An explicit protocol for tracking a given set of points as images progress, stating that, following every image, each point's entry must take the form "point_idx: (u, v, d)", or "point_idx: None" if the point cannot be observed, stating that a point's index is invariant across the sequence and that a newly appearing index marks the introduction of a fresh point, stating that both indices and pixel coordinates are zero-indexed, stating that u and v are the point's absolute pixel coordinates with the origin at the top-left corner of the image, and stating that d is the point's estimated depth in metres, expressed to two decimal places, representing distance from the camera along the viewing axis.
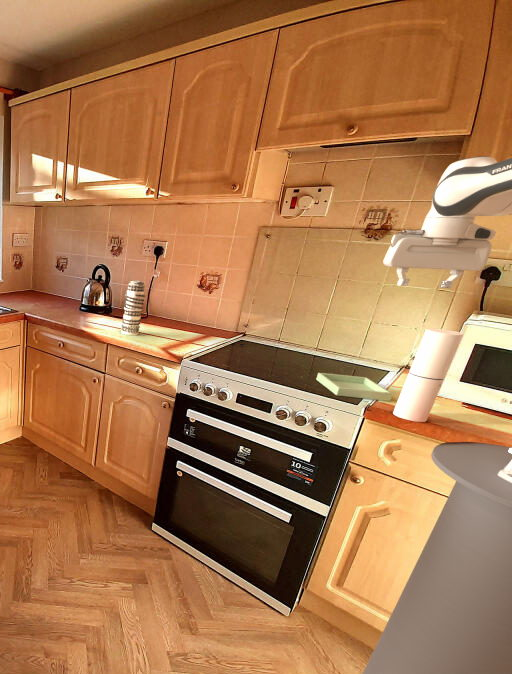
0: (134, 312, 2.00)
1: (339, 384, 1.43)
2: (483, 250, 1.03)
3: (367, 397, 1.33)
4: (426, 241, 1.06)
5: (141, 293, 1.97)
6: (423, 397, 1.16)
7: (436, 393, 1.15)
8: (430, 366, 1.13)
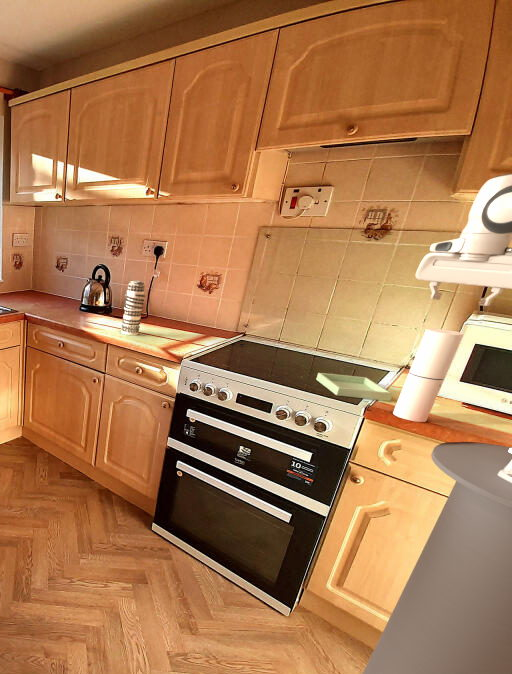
0: (134, 312, 2.00)
1: (339, 384, 1.43)
2: None
3: (367, 397, 1.33)
4: None
5: (141, 293, 1.97)
6: (423, 397, 1.16)
7: (436, 393, 1.15)
8: (430, 366, 1.13)
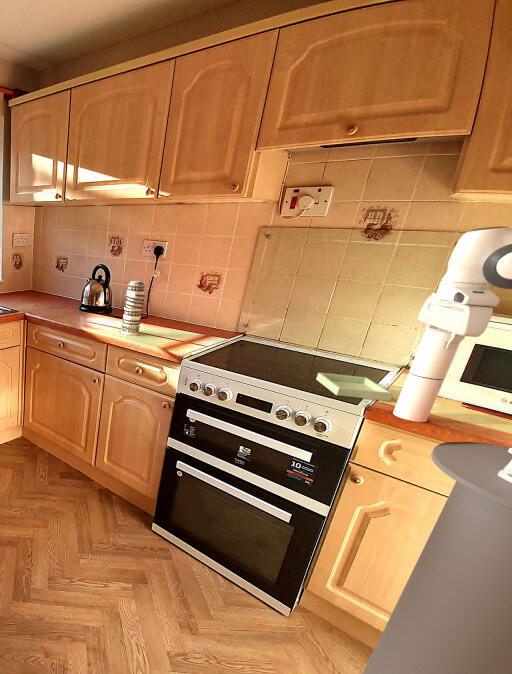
0: (134, 312, 2.00)
1: (339, 384, 1.43)
2: (464, 315, 1.03)
3: (367, 397, 1.33)
4: (438, 300, 1.14)
5: (141, 293, 1.97)
6: (423, 397, 1.16)
7: (436, 393, 1.15)
8: (430, 366, 1.13)
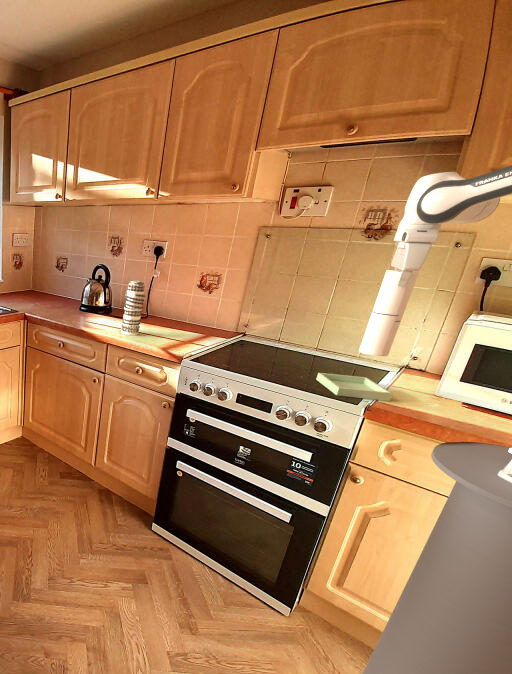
0: (134, 312, 2.00)
1: (339, 384, 1.43)
2: None
3: (367, 397, 1.33)
4: None
5: (141, 293, 1.97)
6: (379, 332, 1.28)
7: (393, 329, 1.27)
8: (385, 302, 1.26)
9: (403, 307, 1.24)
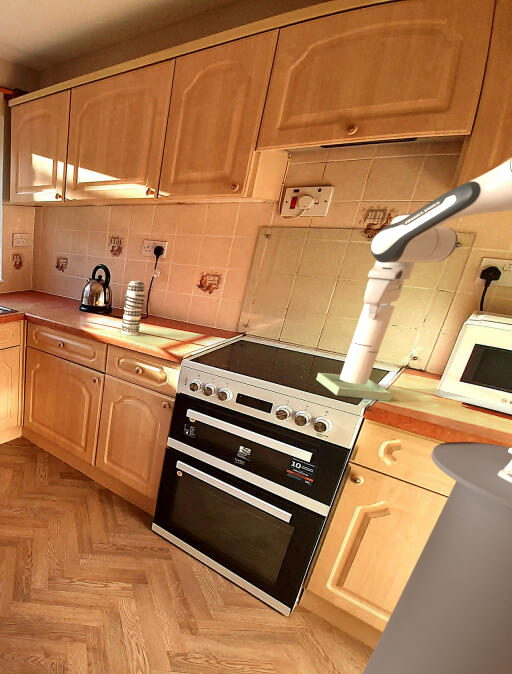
0: (134, 312, 2.00)
1: (339, 384, 1.43)
2: None
3: (367, 397, 1.33)
4: None
5: (141, 293, 1.97)
6: (353, 360, 1.35)
7: (366, 358, 1.33)
8: (359, 333, 1.33)
9: (376, 339, 1.31)
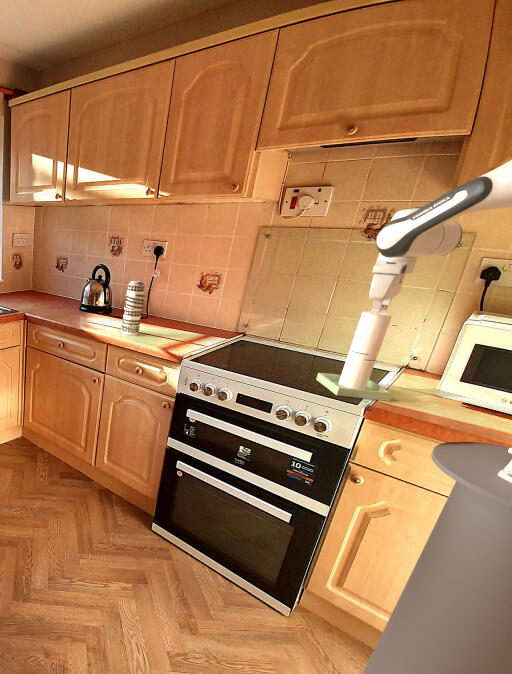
0: (134, 312, 2.00)
1: None
2: None
3: (367, 397, 1.33)
4: None
5: (141, 293, 1.97)
6: (350, 368, 1.37)
7: (363, 366, 1.34)
8: (356, 341, 1.34)
9: (373, 347, 1.32)
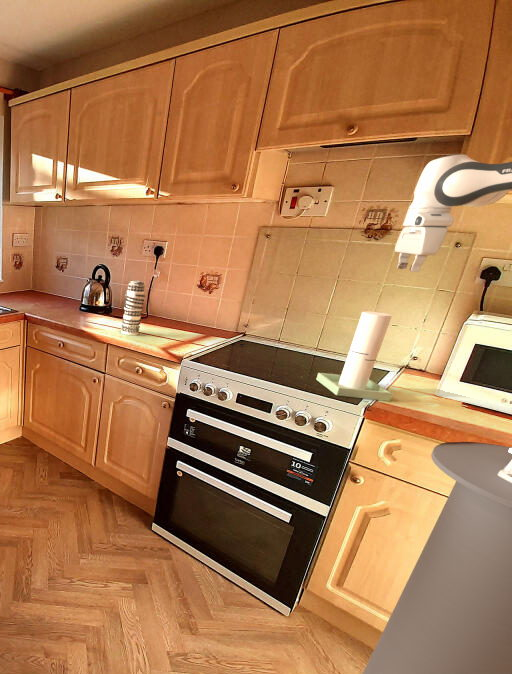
0: (134, 312, 2.00)
1: None
2: (422, 235, 1.15)
3: (367, 397, 1.33)
4: None
5: (141, 293, 1.97)
6: (350, 368, 1.37)
7: (363, 366, 1.34)
8: (356, 341, 1.34)
9: (373, 347, 1.32)
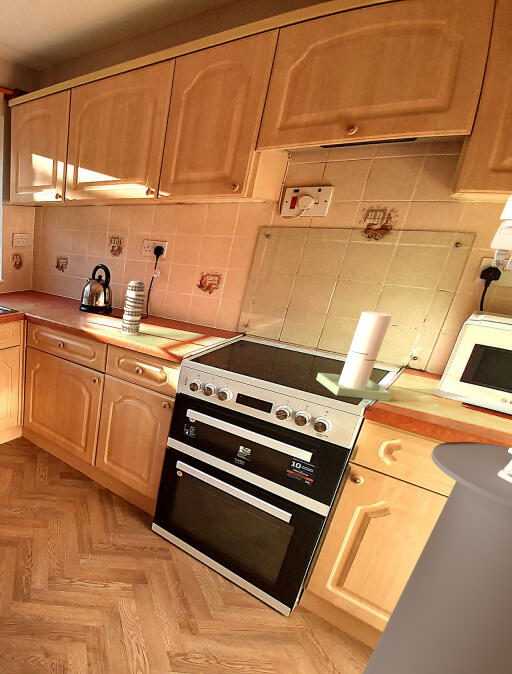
0: (134, 312, 2.00)
1: None
2: None
3: (367, 397, 1.33)
4: None
5: (141, 293, 1.97)
6: (350, 368, 1.37)
7: (363, 366, 1.34)
8: (356, 341, 1.34)
9: (373, 347, 1.32)
